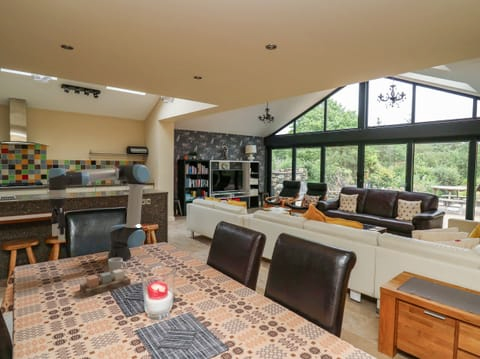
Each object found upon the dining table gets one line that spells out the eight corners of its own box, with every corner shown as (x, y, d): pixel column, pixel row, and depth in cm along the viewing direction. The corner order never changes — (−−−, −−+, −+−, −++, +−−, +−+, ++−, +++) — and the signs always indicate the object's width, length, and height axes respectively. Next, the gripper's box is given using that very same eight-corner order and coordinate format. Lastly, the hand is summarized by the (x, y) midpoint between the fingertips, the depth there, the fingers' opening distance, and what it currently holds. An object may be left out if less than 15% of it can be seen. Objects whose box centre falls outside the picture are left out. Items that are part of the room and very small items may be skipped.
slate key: (108, 280, 152) (108, 271, 152) (111, 282, 149) (111, 274, 149) (99, 282, 149) (99, 274, 149) (103, 285, 146) (103, 276, 146)
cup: (129, 270, 173) (129, 257, 172) (122, 275, 165) (122, 262, 165) (112, 269, 174) (112, 257, 174) (105, 274, 166) (105, 261, 166)
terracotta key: (95, 283, 147) (95, 275, 147) (98, 286, 144) (98, 277, 144) (86, 286, 144) (86, 277, 144) (89, 288, 141) (89, 279, 141)
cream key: (120, 276, 157) (120, 268, 156) (124, 279, 154) (124, 270, 153) (112, 279, 154) (112, 270, 153) (115, 281, 150) (115, 273, 150)
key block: (121, 278, 161) (121, 273, 160) (130, 284, 153) (130, 278, 153) (79, 290, 145) (79, 284, 145) (87, 297, 137) (87, 291, 137)
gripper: (43, 196, 154) (44, 235, 155) (54, 200, 136) (55, 244, 137) (59, 195, 159) (60, 232, 160) (72, 199, 142) (73, 241, 143)
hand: (58, 238), depth 149 cm, fingers open, 13 cm apart
